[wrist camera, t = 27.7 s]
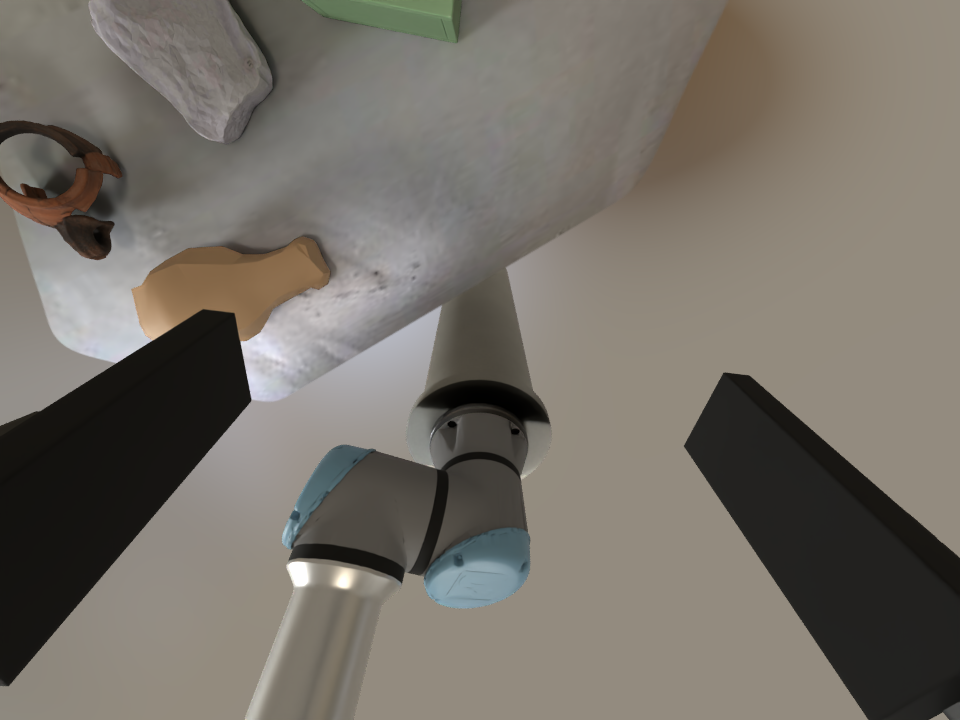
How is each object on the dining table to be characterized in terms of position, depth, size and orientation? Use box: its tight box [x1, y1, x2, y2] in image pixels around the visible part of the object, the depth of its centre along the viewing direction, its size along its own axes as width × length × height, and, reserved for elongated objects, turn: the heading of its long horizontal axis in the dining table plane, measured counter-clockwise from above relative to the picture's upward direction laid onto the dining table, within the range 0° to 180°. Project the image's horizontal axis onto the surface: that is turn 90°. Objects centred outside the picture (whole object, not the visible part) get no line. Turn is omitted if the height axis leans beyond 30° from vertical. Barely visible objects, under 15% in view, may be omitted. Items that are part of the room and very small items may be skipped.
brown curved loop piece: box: [0, 121, 122, 260], centre depth 37 cm, size 12×9×8 cm
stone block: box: [88, 0, 273, 144], centre depth 33 cm, size 12×5×10 cm
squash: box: [132, 236, 330, 341], centre depth 41 cm, size 11×20×9 cm, turn 112°
